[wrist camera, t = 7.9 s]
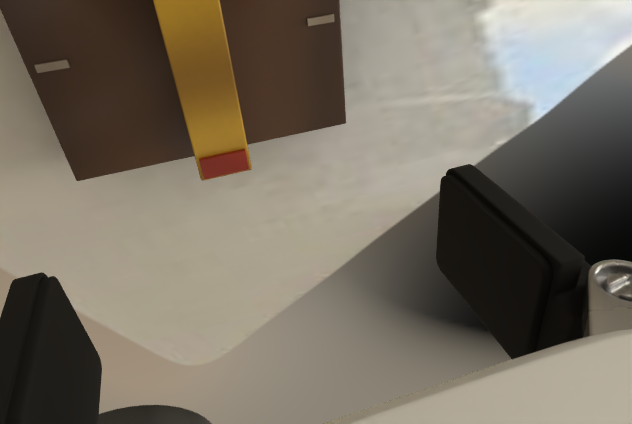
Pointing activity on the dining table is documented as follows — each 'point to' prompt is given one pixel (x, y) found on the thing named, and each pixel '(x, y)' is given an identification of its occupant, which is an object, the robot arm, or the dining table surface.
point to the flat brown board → (157, 78)
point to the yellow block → (205, 84)
